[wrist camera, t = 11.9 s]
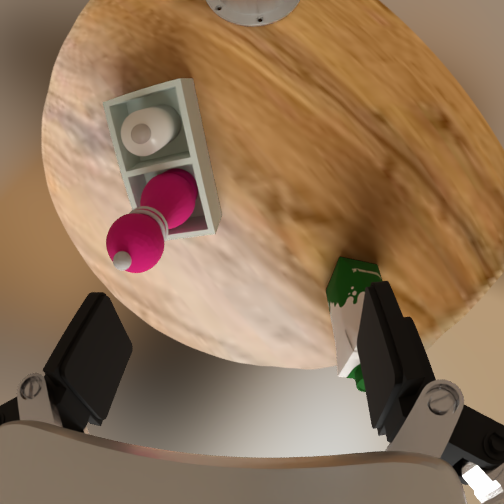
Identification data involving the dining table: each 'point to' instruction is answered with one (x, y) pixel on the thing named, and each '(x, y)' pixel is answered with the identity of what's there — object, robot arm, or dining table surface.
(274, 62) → the dining table surface
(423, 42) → the dining table surface
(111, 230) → the pepper mill
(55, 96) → the dining table surface
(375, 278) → the milk carton
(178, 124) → the salt cellar
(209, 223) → the grey divided tray
